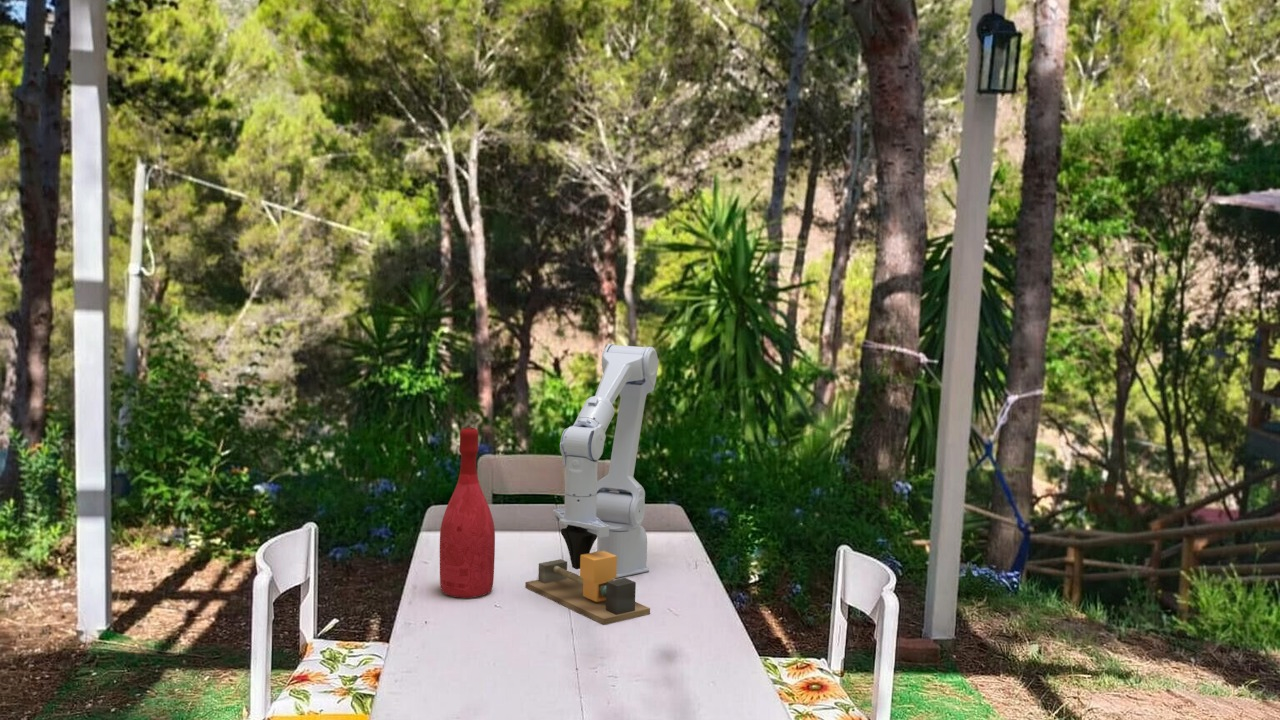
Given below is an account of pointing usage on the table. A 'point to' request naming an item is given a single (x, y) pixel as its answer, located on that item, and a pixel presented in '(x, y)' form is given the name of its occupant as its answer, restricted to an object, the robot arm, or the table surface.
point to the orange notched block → (597, 572)
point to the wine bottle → (467, 530)
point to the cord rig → (570, 594)
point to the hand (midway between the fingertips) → (579, 567)
